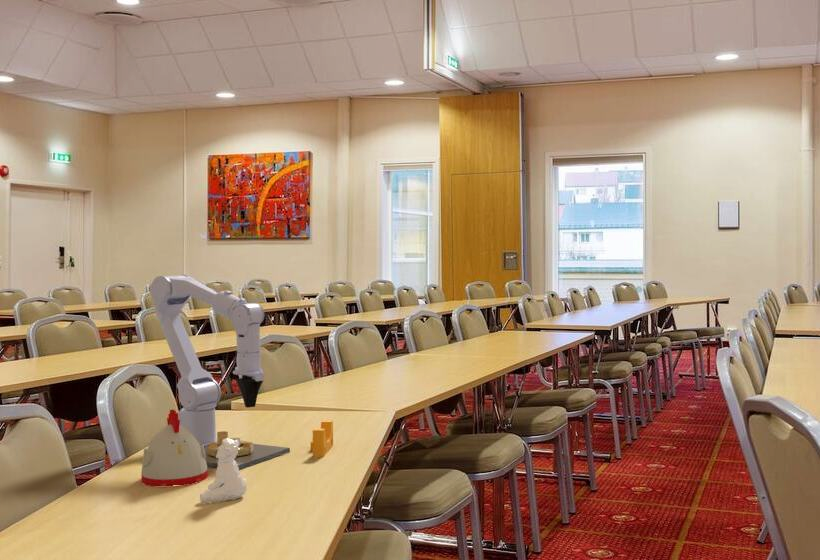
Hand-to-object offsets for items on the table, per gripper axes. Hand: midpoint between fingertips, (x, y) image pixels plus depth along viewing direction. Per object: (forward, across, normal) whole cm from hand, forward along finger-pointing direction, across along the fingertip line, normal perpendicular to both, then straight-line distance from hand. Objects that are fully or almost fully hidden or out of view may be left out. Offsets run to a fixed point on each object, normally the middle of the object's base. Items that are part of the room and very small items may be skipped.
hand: (250, 406), depth 226 cm
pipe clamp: (+11, +12, +13) cm, 21 cm away
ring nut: (+9, +5, -7) cm, 13 cm away
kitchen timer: (+11, +18, -24) cm, 32 cm away
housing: (+10, +5, -7) cm, 14 cm away
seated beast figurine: (+11, +38, -20) cm, 45 cm away
